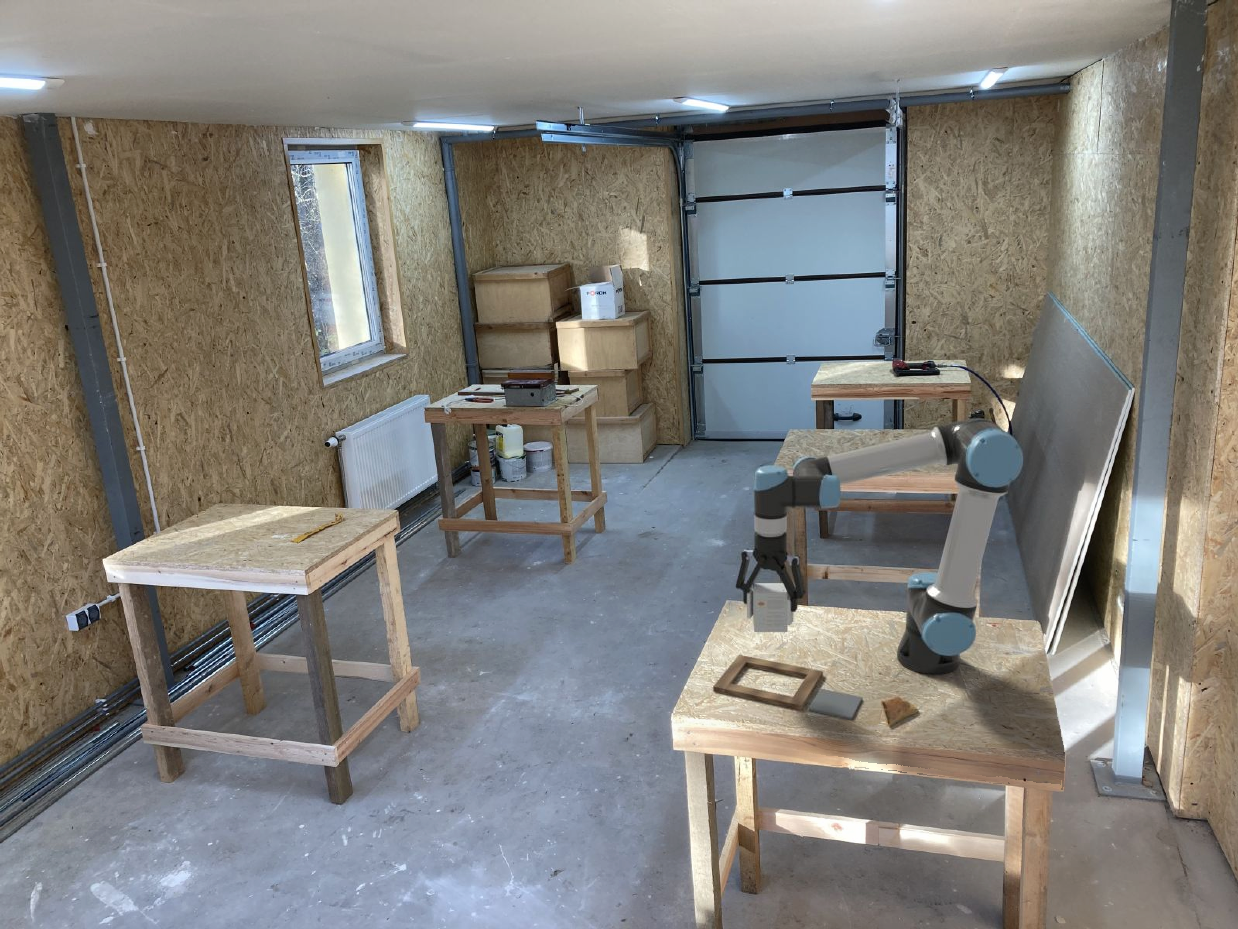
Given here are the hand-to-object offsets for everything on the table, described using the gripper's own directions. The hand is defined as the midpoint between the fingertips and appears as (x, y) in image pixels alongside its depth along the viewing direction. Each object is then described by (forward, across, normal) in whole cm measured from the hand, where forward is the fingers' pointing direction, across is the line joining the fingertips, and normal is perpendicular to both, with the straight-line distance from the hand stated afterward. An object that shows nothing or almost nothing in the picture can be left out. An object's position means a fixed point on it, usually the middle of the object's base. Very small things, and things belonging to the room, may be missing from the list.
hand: (770, 619), depth 227 cm
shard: (+18, -32, +2) cm, 37 cm away
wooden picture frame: (+17, 0, 0) cm, 17 cm away
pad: (+17, -17, +4) cm, 25 cm away
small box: (+2, 0, 0) cm, 2 cm away
